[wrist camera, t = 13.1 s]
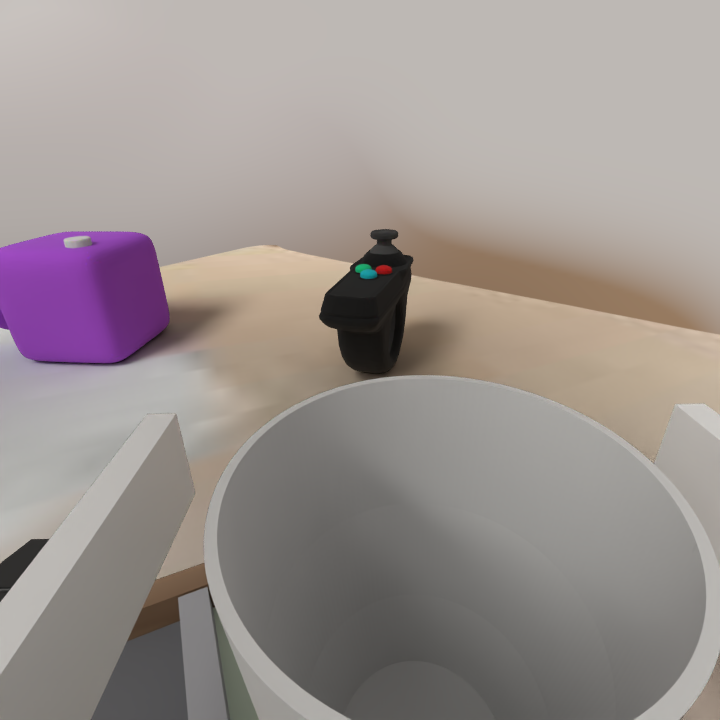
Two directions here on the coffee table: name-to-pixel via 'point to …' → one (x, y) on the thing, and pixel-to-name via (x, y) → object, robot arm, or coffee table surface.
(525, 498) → the cup
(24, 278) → the toy camera
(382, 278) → the controller
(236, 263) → the coffee table surface
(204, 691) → the tray
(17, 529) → the coffee table surface
